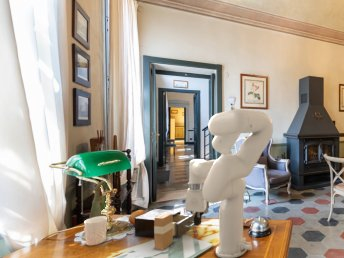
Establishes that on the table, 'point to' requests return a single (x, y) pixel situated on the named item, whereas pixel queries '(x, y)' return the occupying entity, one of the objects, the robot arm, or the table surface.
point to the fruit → (134, 215)
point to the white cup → (95, 230)
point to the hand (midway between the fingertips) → (197, 224)
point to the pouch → (98, 201)
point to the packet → (163, 230)
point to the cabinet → (149, 222)
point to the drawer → (182, 224)
